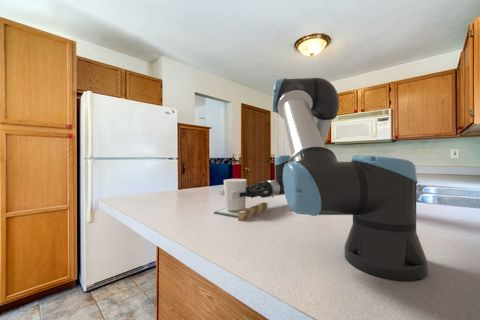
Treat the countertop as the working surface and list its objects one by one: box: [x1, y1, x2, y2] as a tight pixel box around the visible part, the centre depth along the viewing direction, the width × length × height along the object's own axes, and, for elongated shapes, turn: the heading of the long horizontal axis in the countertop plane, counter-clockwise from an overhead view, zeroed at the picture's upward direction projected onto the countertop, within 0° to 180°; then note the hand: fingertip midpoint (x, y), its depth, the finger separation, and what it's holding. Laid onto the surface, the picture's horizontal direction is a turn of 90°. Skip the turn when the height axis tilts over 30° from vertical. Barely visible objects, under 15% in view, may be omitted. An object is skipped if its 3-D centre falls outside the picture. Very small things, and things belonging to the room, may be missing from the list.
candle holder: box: [223, 178, 248, 210], centre depth 93 cm, size 10×10×12 cm
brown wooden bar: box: [237, 202, 268, 222], centre depth 89 cm, size 20×2×3 cm, turn 146°
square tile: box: [213, 207, 249, 219], centre depth 93 cm, size 13×13×1 cm
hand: (225, 193), depth 91 cm, fingers closed on candle holder, 9 cm apart
